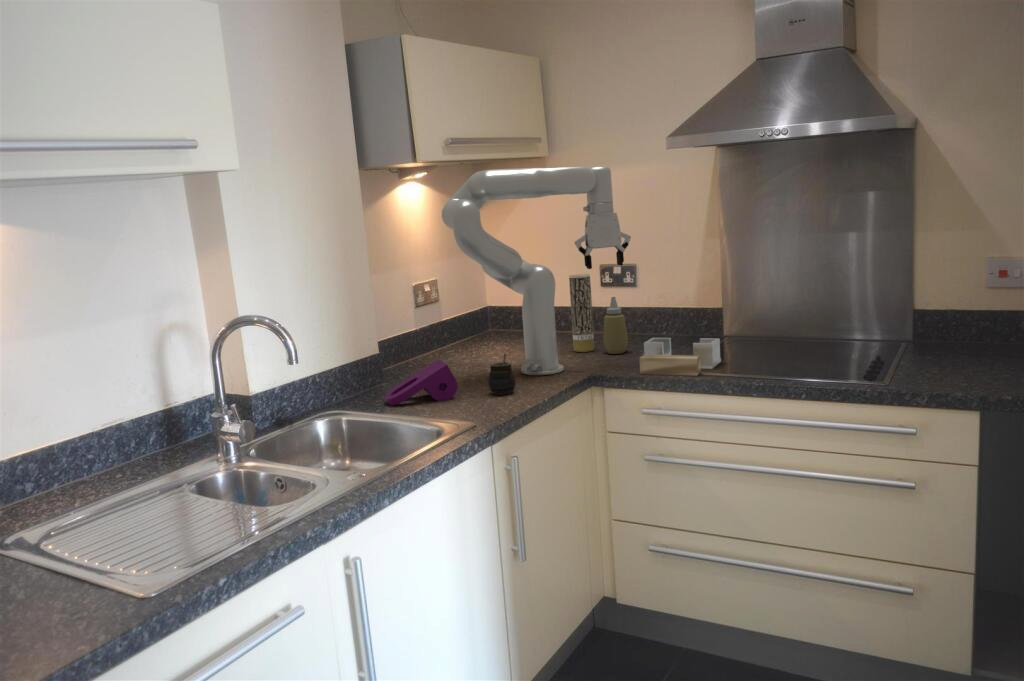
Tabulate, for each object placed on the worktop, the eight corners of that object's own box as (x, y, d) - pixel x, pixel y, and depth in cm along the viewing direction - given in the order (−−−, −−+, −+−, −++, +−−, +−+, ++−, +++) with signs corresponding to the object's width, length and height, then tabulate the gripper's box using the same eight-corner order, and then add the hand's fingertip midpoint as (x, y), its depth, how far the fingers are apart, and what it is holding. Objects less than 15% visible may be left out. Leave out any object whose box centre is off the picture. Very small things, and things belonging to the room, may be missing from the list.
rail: (697, 376, 230) (696, 358, 229) (640, 375, 237) (639, 357, 236) (700, 373, 233) (699, 355, 233) (644, 372, 241) (643, 354, 240)
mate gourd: (486, 396, 223) (483, 359, 222) (492, 390, 231) (489, 354, 229) (513, 395, 222) (510, 358, 220) (518, 389, 229) (515, 353, 228)
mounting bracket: (405, 428, 220) (462, 390, 224) (388, 402, 218) (446, 364, 222) (398, 420, 229) (454, 384, 233) (382, 395, 227) (438, 358, 230)
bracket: (712, 368, 237) (711, 344, 235) (643, 366, 246) (642, 343, 245) (721, 361, 245) (720, 337, 244) (654, 360, 255) (653, 337, 253)
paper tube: (569, 350, 280) (565, 275, 276) (587, 348, 282) (583, 273, 278) (580, 353, 274) (575, 276, 269) (598, 350, 276) (593, 274, 272)
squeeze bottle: (626, 355, 266) (623, 298, 263) (601, 355, 268) (597, 299, 265) (631, 350, 273) (628, 294, 270) (606, 350, 276) (603, 295, 273)
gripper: (576, 211, 244) (580, 270, 247) (632, 206, 248) (636, 264, 251) (568, 211, 252) (573, 269, 255) (623, 206, 255) (627, 263, 258)
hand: (604, 266), depth 253 cm, fingers open, 9 cm apart
